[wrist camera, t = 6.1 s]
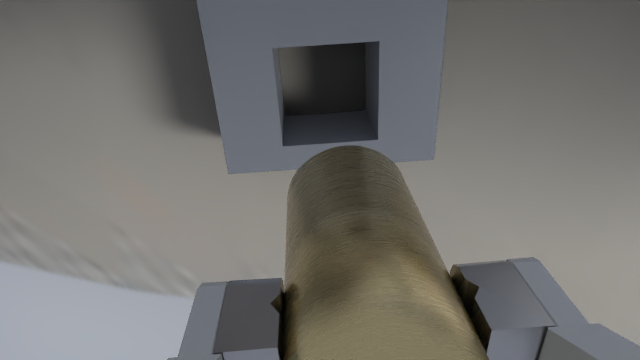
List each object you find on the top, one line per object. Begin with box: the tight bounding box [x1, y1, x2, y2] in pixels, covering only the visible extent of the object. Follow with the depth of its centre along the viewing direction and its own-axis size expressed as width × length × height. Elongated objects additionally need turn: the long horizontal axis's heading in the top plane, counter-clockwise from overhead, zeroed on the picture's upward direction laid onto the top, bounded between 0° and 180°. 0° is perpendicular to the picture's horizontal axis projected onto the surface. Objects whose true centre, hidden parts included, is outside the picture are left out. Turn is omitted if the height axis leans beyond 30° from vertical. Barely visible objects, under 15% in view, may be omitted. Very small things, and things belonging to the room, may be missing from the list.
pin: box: [283, 145, 489, 360], centre depth 8 cm, size 3×3×8 cm
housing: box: [196, 0, 448, 174], centre depth 19 cm, size 14×10×4 cm
